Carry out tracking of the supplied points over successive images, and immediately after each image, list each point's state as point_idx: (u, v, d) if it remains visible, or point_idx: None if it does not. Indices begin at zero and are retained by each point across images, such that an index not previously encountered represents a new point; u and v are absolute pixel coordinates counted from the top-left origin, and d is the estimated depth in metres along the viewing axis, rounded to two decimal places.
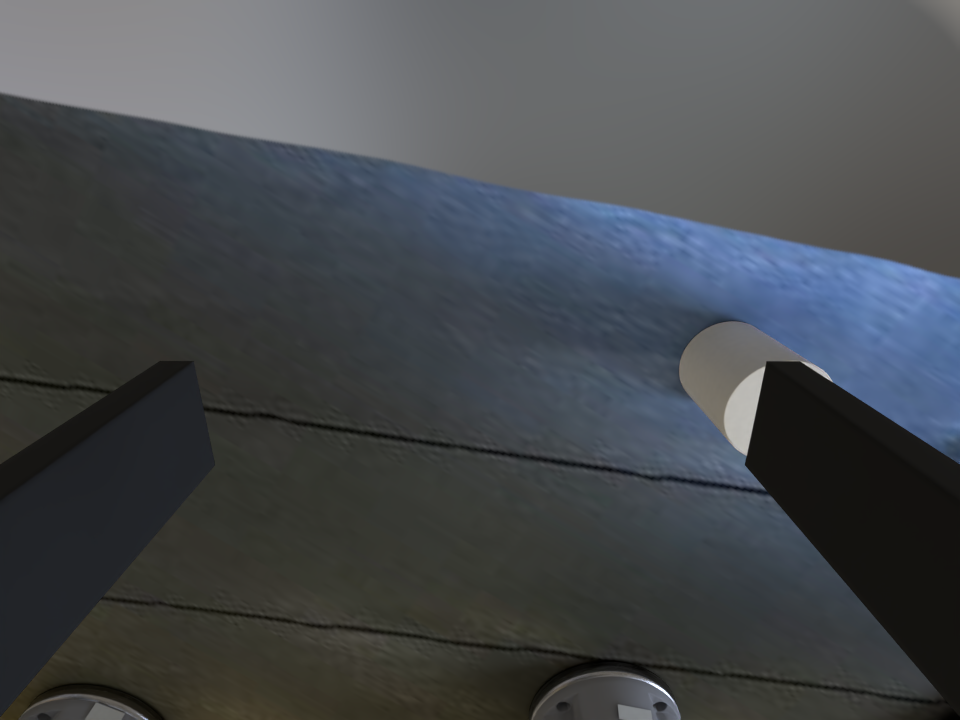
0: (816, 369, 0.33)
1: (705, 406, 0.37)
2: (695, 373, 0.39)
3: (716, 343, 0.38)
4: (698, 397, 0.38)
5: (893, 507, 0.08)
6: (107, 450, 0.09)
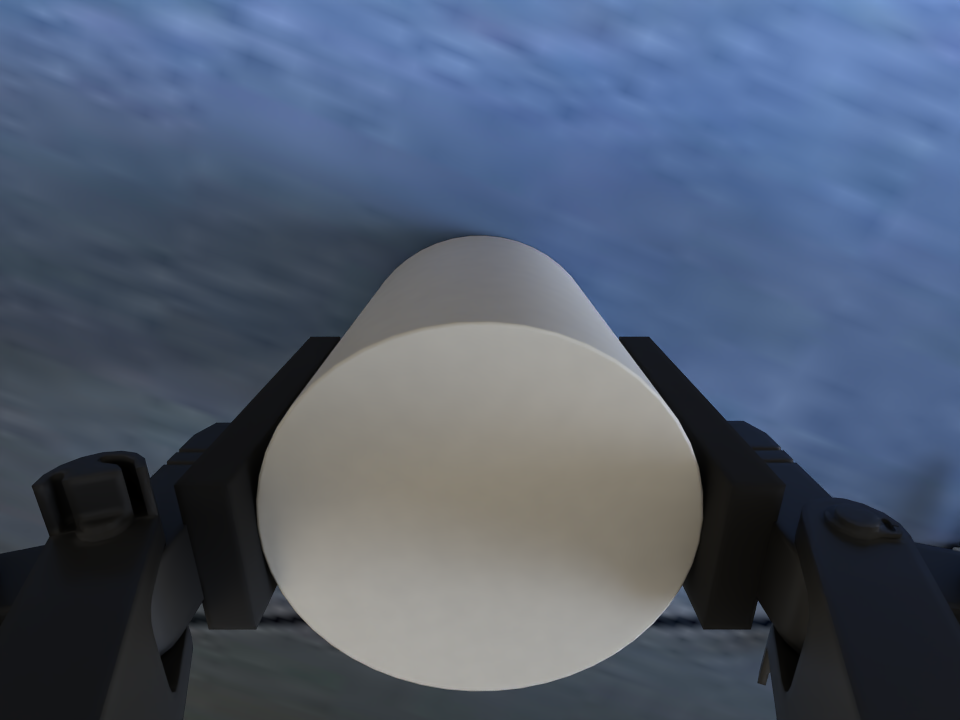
0: (560, 347, 0.07)
1: None
2: None
3: (369, 302, 0.13)
4: None
5: None
6: None
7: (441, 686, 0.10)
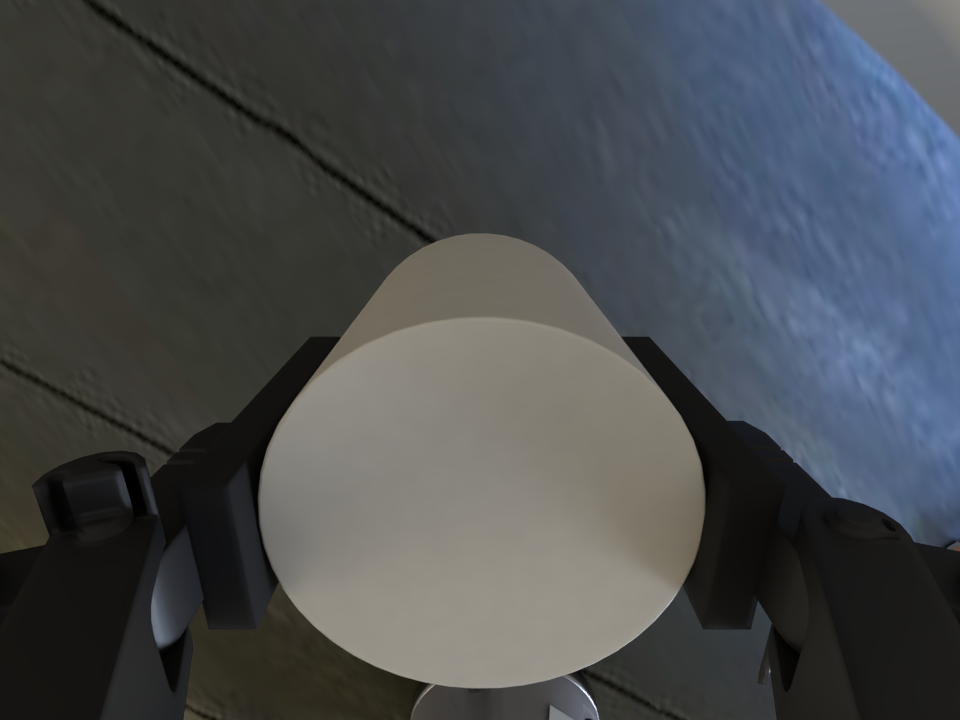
0: (563, 343, 0.07)
1: None
2: None
3: (370, 299, 0.13)
4: None
5: None
6: None
7: (442, 683, 0.10)
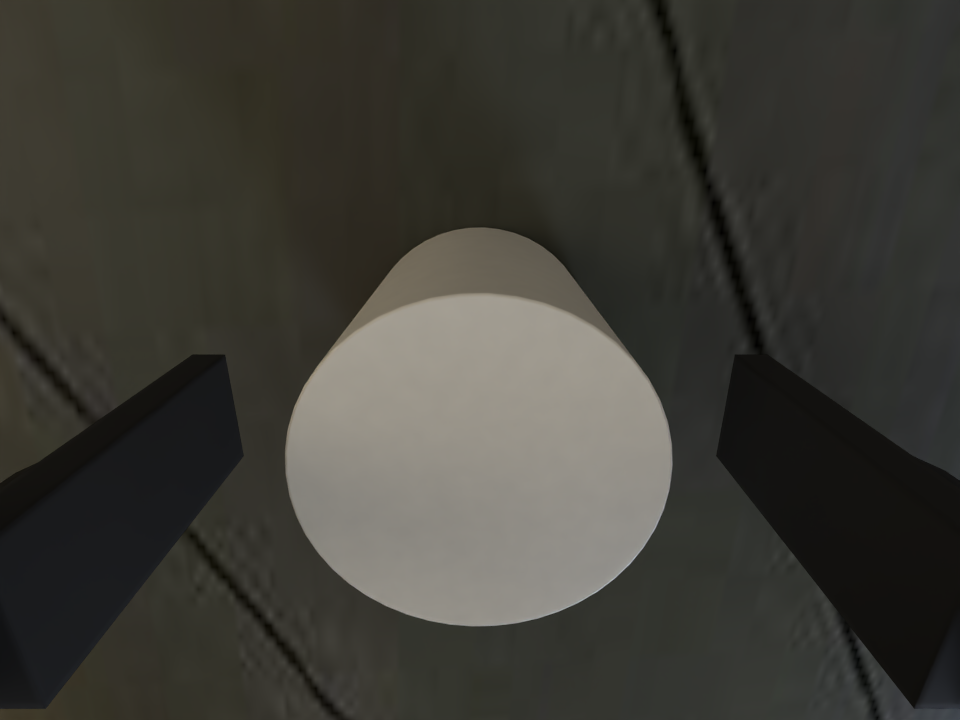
0: (547, 315, 0.09)
1: None
2: None
3: (378, 286, 0.14)
4: None
5: (842, 491, 0.09)
6: (151, 438, 0.10)
7: (444, 621, 0.11)
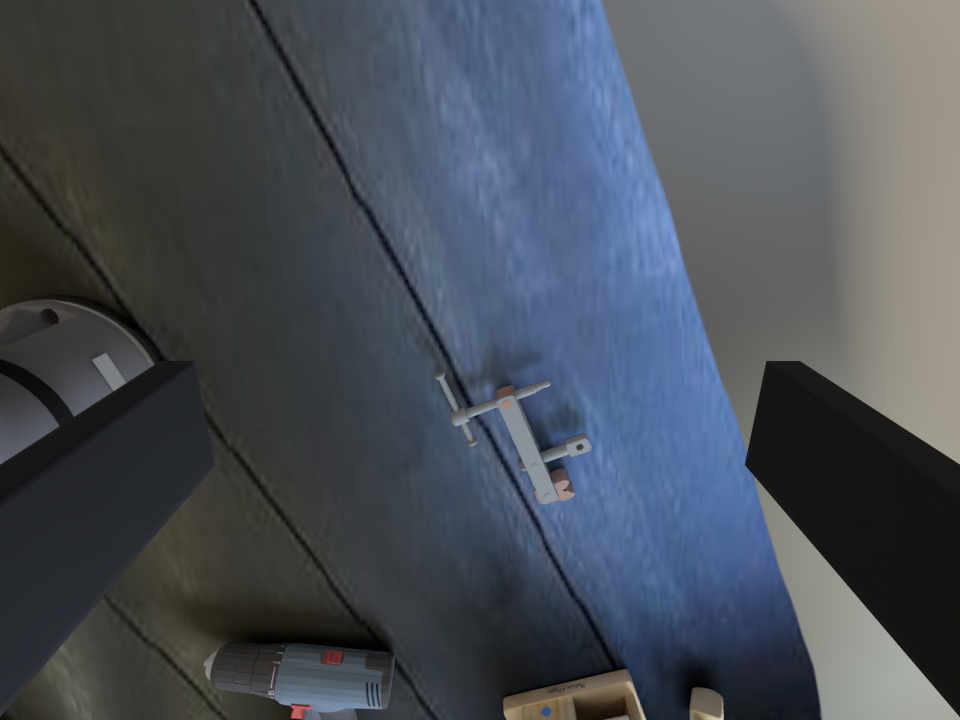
0: None
1: None
2: None
3: None
4: None
5: (893, 507, 0.08)
6: (107, 450, 0.09)
7: None
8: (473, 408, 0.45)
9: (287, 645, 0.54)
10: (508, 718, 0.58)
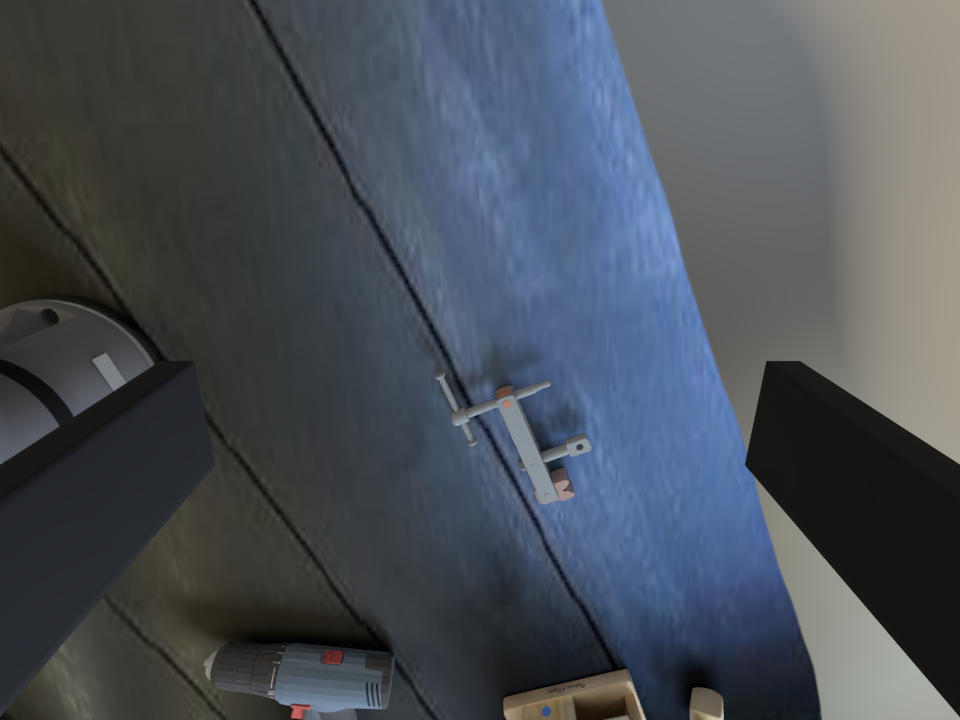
0: None
1: None
2: None
3: None
4: None
5: (893, 507, 0.08)
6: (107, 450, 0.09)
7: None
8: (473, 408, 0.45)
9: (287, 645, 0.54)
10: (508, 718, 0.58)
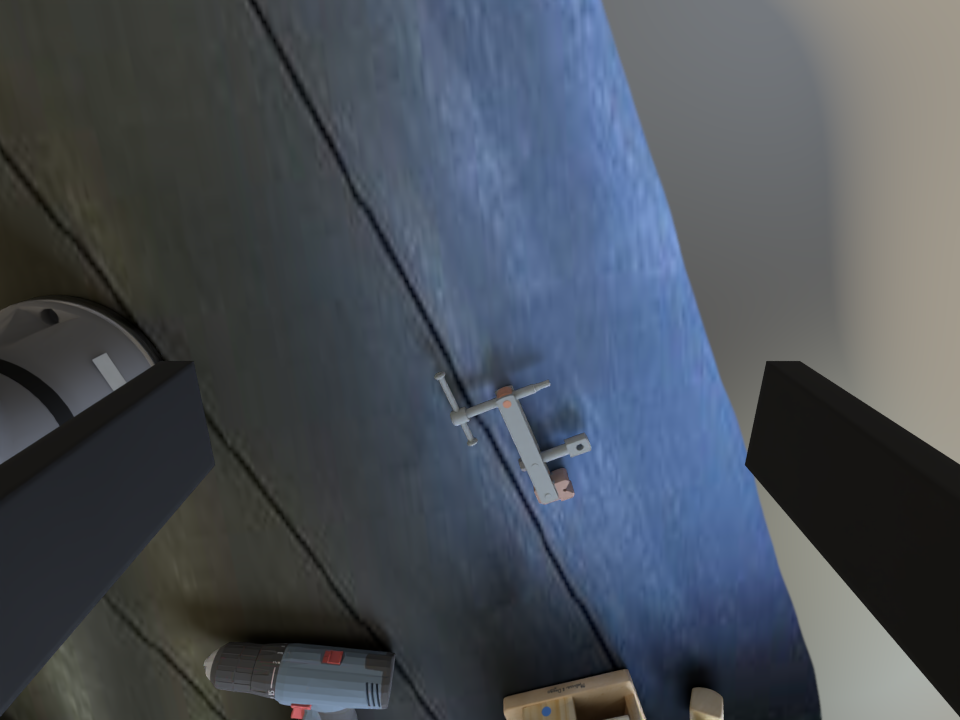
0: None
1: None
2: None
3: None
4: None
5: (893, 507, 0.08)
6: (107, 450, 0.09)
7: None
8: (473, 408, 0.45)
9: (287, 645, 0.54)
10: (508, 718, 0.58)
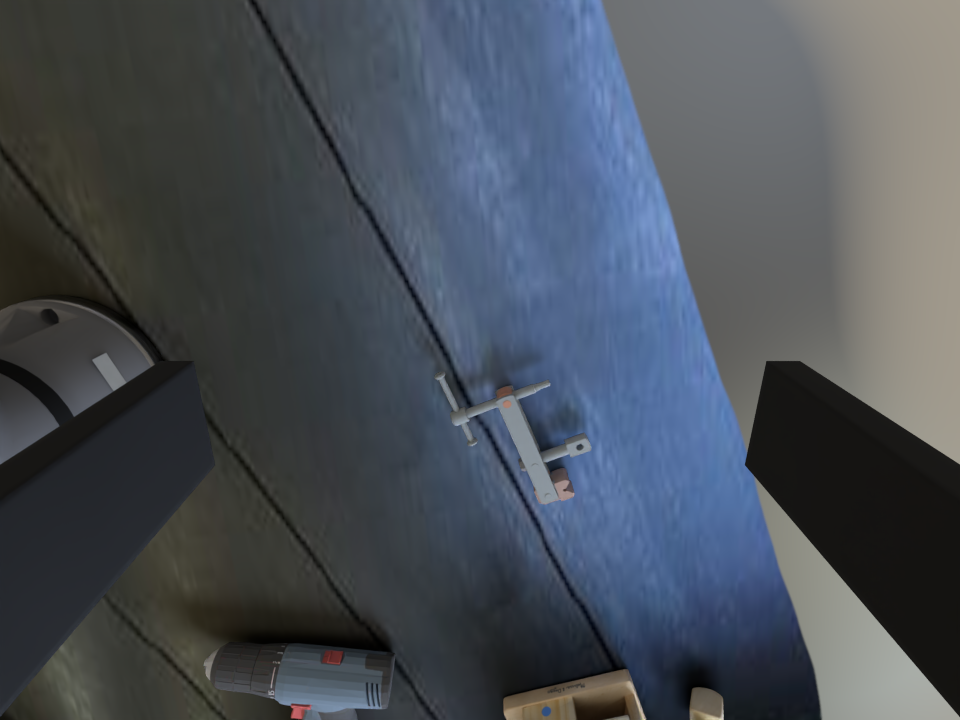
0: None
1: None
2: None
3: None
4: None
5: (893, 507, 0.08)
6: (107, 450, 0.09)
7: None
8: (473, 408, 0.45)
9: (287, 645, 0.54)
10: (508, 718, 0.58)
